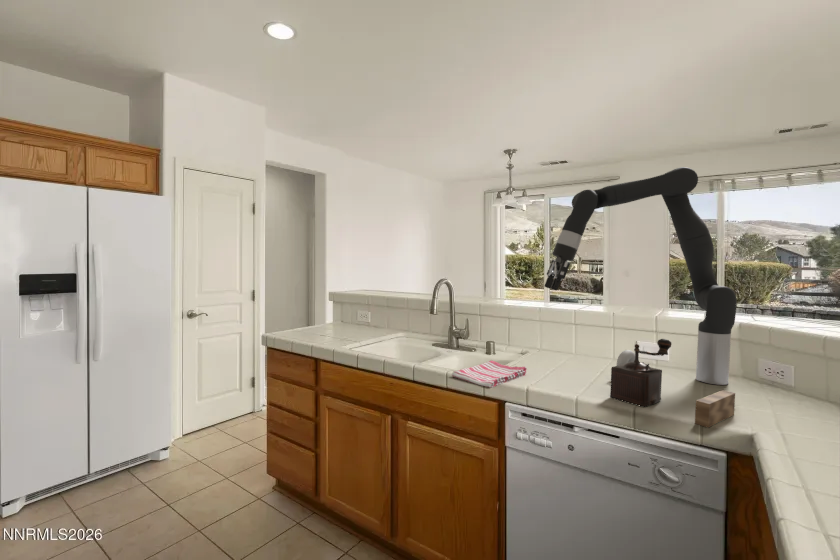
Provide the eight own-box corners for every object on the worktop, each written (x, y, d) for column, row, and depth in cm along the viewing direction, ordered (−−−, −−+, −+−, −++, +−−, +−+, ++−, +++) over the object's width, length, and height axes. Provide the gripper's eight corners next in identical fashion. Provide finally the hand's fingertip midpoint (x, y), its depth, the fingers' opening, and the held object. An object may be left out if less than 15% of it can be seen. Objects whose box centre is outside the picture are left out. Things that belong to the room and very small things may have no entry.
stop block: (721, 411, 114) (722, 390, 114) (734, 414, 112) (735, 393, 111) (694, 423, 105) (696, 400, 105) (708, 427, 103) (709, 404, 102)
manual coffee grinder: (646, 408, 116) (649, 344, 115) (609, 397, 125) (611, 338, 124) (672, 398, 125) (675, 339, 124) (635, 388, 134) (638, 333, 133)
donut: (623, 381, 141) (624, 352, 141) (613, 378, 144) (614, 350, 144) (638, 377, 147) (640, 349, 147) (629, 374, 150) (630, 347, 149)
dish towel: (528, 376, 148) (528, 366, 148) (490, 390, 131) (490, 379, 131) (489, 366, 160) (489, 357, 160) (449, 378, 143) (450, 368, 143)
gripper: (584, 249, 138) (566, 294, 139) (570, 249, 152) (554, 290, 153) (563, 241, 138) (545, 286, 139) (551, 242, 152) (535, 283, 154)
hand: (550, 288), depth 146 cm, fingers open, 8 cm apart
